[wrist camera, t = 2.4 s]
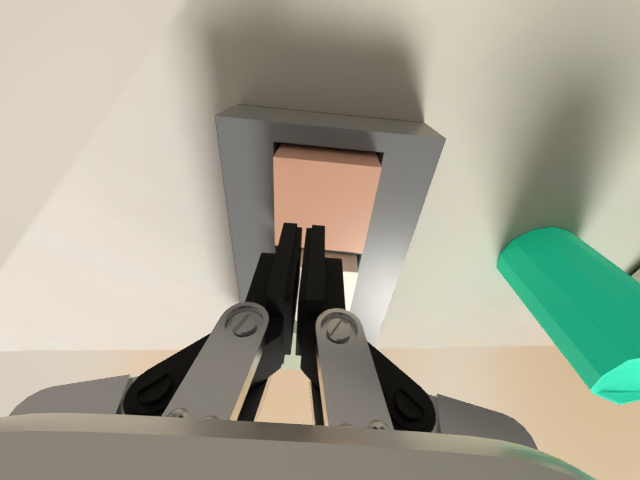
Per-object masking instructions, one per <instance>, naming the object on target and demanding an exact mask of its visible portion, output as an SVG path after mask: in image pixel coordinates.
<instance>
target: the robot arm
mask: <svg viewBox="0 0 640 480" xmlns="http://www.w3.org/2000/svg"><path fill="white" fill-rule="evenodd" d="M301 245H302V227H297V223H285V222H284V224H283V228H282V231H281V235H280V239H279V243H278V247H277V251H276V253H263V252H262V253H261V255H260V258H259V261H258V264H257V267H256V270H255V273H254V276H253V279H252V282H251V285H250V288H249V291H248V294H247V297H246V300H245V302H243V303H238V304H236V305H233V306H231V307H230V308H229V309H227V310H226V311H225V312H224V313H223V315H222V316H221V317H220V319H219V321H218V322H217V324H216V326H215V327H214V329H213V331H212V332H211V333H210V334H209V335H207V336H205V337H203V338H202V339H200V340H198V341H196V342H195V343H193V344H191V345H190V346H188V347H186V348H184V349H183V350H181V351H179V352H178V353H176V354H174V355H173V356H171V357H169V358H167V359H166V360H164V361H162V362H161V363H159V364H157V365H155V366H154V367H152V368H150V369H148V370H147V371H146V372H144V373H143V374H141V375H140V376H139V377H133V378H132V377H131V376H130V375H124V376H117V377H111V378H105V379H98V380H92V381H85V382H79V383H73V384H66V385H60V386H53V387H50V388H46V389H43V390H40V391H39V392H37V393H35V394H33V395H31V396H29V397H28V398H26V399H25V400H24V401H23V402H21V403H20V404H19V405H18V406H16V408H15V409H14V410H13V411H12V412H11V414H10V415H9V416H7V417H1V418H0V480H596V479H595V478H593V477H591V476H590V475H588V474H587V473H585V472H583V471H582V470H580V469H578V468H576V467H574V466H572V465H570V464H568V463H566V462H564V461H563V460H561V459H559V458H556V457H554V456H551V455H549V454H547V453H544V452H542V451H539V450H538V449H537V447H536V445H535V443H534V441H533V438H532V437H531V435H530V434H529V433H528V432H527V430H526V429H525V428H524V427H523V426H522V425H521V424H520V423H518V422H517V421H516V420H515V419H513V418H511V417H509V416H507V415H505V414H502V413H499V412H496V411H492V410H489V409H486V408H483V407H479V406H475V405H473V404H469V403H466V402H463V401H459V400H456V399H453V398H449V397H446V396H443V395H440V394H437V395H436V396H432V395H428V394H427V393H426V392H425V391H424V390H423V389H422V388H421V387H420V386H419V385H418V384H416V383H415V382H414V381H413V380H412V379H411V378H410V377H408V376H407V375H406V374H405V373H404V372H403V371H401V370H400V369H399V368H398V367H397V366H396V365H394V364H393V363H392V362H391V361H390V360H389V359H387V358H386V357H385V356H384V355H383V354H382V353H380V352H379V351H378V350H377V349H376V348H375V347H373V346H372V345H371V344H370V343H369V342H368V341H367V339H366V336H365V333H364V329H363V326H362V324H361V322H360V320H359V319H358V318H357V317H356V316H355V315H354V314H353V313H351V312H350V311H347V310H346V307H345V294H344V280H343V267H342V259H340V258H328V257H325V226H322V225H312V228H306V236H305V244H304V253H303V261H302V270H301V278H300V264H301ZM631 277H632V278H634V279H635V280H636V281H638V282H639V283H640V268H639V269H638V270H637V271H636V272H635V273H634V274H632V275H631ZM299 281H300V287H299ZM298 290H299V296H298ZM297 298H298V311H297V331H296V351H295V355H296V356H301V364H300V369H301V370H302V371H303V372H304V373H305V375H306V376H307V377H308V378H309V386H310V398H311V409H312V420H313V425H302V424H284V423H268V422H257V421H258V418H259V415H260V412H261V409H262V406H263V402H264V400H265V396H266V393H267V390H268V387H269V384H270V380H271V375H272V374H273V373H275V372H276V371H277V370H278V369H280V368H281V366H282V364H284V358H285V355H291V348H292V340H293V331H294V323H295V315H296V306H297Z"/></svg>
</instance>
